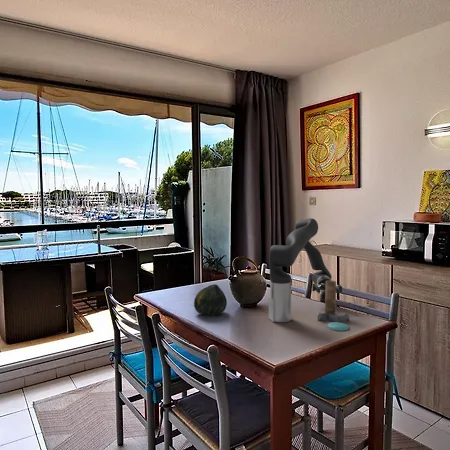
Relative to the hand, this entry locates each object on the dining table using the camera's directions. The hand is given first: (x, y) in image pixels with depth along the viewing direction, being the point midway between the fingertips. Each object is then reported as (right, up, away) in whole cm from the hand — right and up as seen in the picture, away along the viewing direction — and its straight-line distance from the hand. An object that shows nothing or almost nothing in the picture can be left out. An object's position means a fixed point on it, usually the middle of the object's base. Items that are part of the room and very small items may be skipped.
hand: (328, 291), depth 183 cm
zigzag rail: (-1, -11, -13) cm, 17 cm away
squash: (-56, -10, -2) cm, 57 cm away
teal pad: (-2, -11, -22) cm, 25 cm away
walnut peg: (-1, -10, -7) cm, 12 cm away
